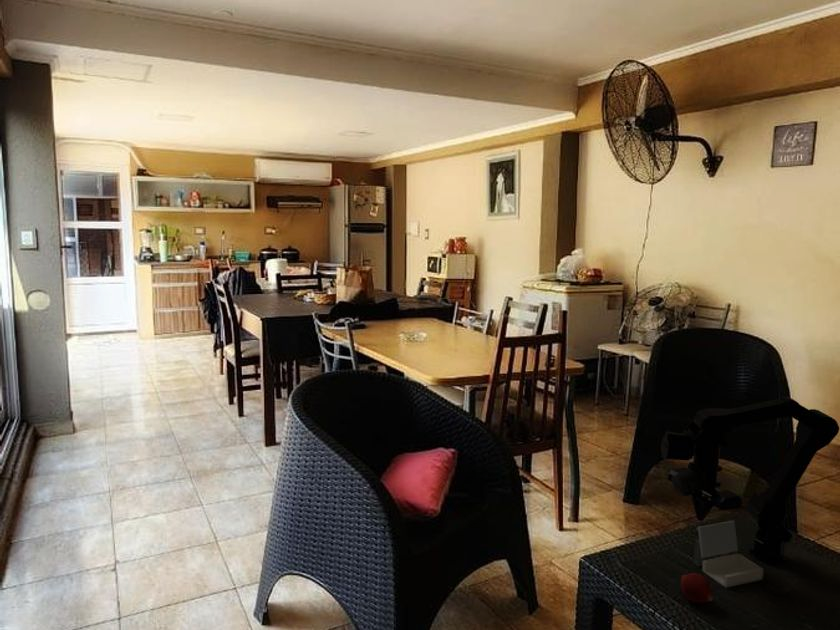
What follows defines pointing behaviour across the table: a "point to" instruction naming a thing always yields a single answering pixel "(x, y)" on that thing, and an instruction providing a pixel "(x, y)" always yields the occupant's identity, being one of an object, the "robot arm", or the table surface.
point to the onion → (696, 588)
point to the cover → (717, 538)
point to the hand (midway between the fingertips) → (700, 520)
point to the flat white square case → (728, 568)
